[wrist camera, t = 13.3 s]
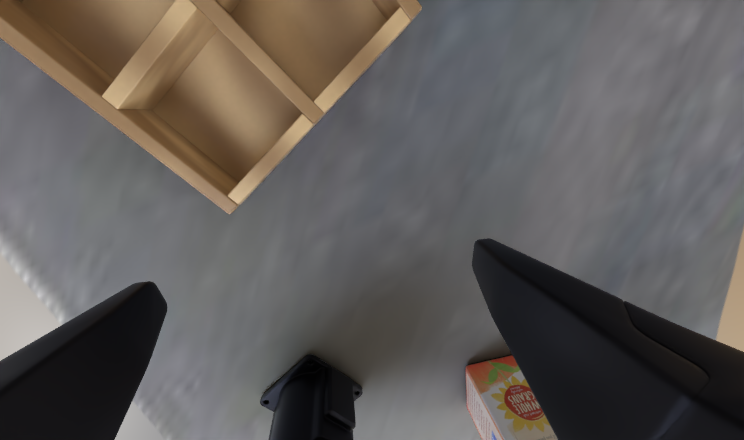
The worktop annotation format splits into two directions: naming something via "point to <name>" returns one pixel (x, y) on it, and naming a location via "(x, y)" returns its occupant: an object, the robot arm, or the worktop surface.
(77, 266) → the worktop surface
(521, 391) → the cracker box
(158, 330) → the robot arm
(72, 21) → the grid
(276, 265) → the worktop surface
